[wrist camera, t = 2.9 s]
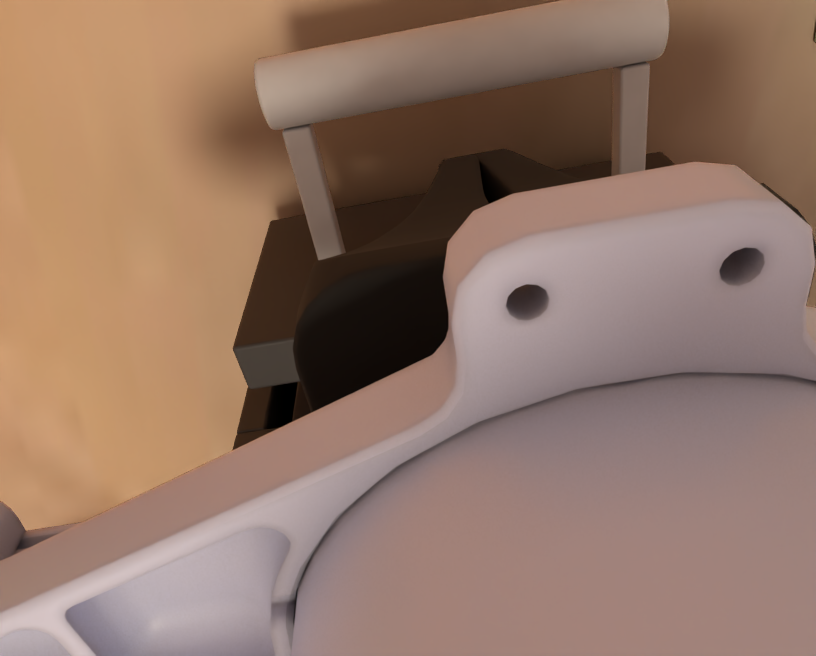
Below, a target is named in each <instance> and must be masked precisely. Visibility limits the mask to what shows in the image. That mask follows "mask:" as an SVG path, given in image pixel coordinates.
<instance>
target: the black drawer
mask: <svg viewBox="0 0 816 656" xmlns="http://www.w3.org/2000/svg"><path fill="white" fill-rule="evenodd" d="M668 34H669V8H668V2H667V0H560V1H555V2H549V3H544V4H539V5H534V6H529V7H523V8H518V9H513V10H508V11H503V12H498V13H492V14H487V15H482V16H477V17H472V18H466V19H461V20H456V21H451V22H446V23H441V24H435V25H430V26H425V27H420V28H415V29H410V30H404V31H399V32H394V33H389V34H384V35H378V36H373V37H368V38H363V39H358V40H353V41H347V42H342V43H337V44H332V45H327V46H321V47H316V48H311V49H306V50H301V51H296V52H290V53H285V54H280V55H275V56H270V57H265V58H259V59H258V60H256V61H255V64H254V80H255V86H256V92H257V96H258V100H259V104H260V107H261V110H262V113H263V115H264V118H265V120H266V122H267V123H268V125H269V126H270V128H271V129H274V130H280V129H284V130H283V133H282V134H283V138H284V141H285V145H286V148H287V152H288V155H289V159H290V162H291V166H292V169H293V173H294V176H295V180H296V184H297V187H298V191H299V194H300V198H301V201H302V205H303V208H304V212H305V215H301V216H296V217H290V218H284V219H279V220H273V221H271V222H270V225H269V228H268V232H267V235H266V238H265V242H264V245H263V248H262V252H261V255H260V259H259V262H258V265H257V269H256V272H255V275H254V279H253V282H252V285H251V289H250V292H249V296H248V299H247V302H246V306H245V309H244V312H243V316H242V319H241V322H240V326H239V329H238V332H237V336H236V339H235V343H234V346H233V351H234V353H235V356H236V358H237V360H238V363H239V365H240V368H241V370H242V373H243V375H244V377H245V380H246V382H247V385H248V387H249V388H250V389H257V388H263V387H269V386H276V385H282V384H288V383H294V382H298V384H297V391H296V397H295V404H294V411H293V418H292V422H293V421H295V420H297V419H299V418H301V417H303V416H306V415H308V414H310V413H311V411H310V408H309V405H308V402H307V399H306V396H305V393H304V390H303V388H302V385H301V382H300V379H299V376H298V373H297V370H296V366H295V360H294V354H293V342H294V335H295V328H296V321H297V314H298V309H299V305H300V301H301V297H302V294H303V291H304V288H305V286H306V283H307V280H308V278H309V276H310V273H311V270H312V268H313V265H314V263H315V261H318V260H322V259H326V258H329V257H333V256H336V255H340V254H343V253H347V252H349V251H352V250H355V249H357V248H359V247H362V246H364V245H366V244H368V243H370V242H372V241H374V240H376V239H378V238H380V237H381V236H383V235H384V234H386V233H387V232H389V231H390V230H392V229H393V228H394V227H396V226H397V225H399V224H400V223H401V222H403V221H404V220H405V219H406V218H407V217H408V216H409V215H410V214H411V213H412V212H413V211H414V210H415V209H416V208H417V206H418V205H419V204H420V202H421V201H422V199H423V198H424V197H425V195H426V193H425V194H420V195H414V196H408V197H403V198H397V199H391V200H386V201H380V202H375V203H369V204H363V205H358V206H352V207H346V208H341V209H334V205H333V201H332V197H331V193H330V189H329V185H328V181H327V177H326V173H325V170H324V166H323V162H322V158H321V154H320V150H319V146H318V142H317V138H316V134H315V130H314V126H313V123H318V122H323V121H329V120H334V119H339V118H345V117H350V116H355V115H361V114H366V113H372V112H377V111H382V110H388V109H393V108H398V107H404V106H409V105H415V104H420V103H425V102H431V101H436V100H441V99H447V98H452V97H458V96H463V95H468V94H474V93H479V92H484V91H490V90H495V89H501V88H506V87H511V86H517V85H522V84H528V83H533V82H538V81H544V80H549V79H554V78H560V77H565V76H571V75H576V74H581V73H587V72H592V71H597V70H603V69H608V68H613V96H612V160H611V161H606V162H600V163H594V164H589V165H583V166H577V167H572V168H566V169H560V170H557V171H560V172H562V173H566V174H569V175H572V176H575V177H578V178H581V179H585V180H593V179H599V178H605V177H610V176H616V175H622V174H627V173H633V172H639V171H644V170H650V169H656V168H661V167H667V166H672V165H675V164H674V163H673V162H672V161H671V160H670V159H669V158H668V157H667V156H666V155H665V154H663V153H662V152H656V153H651V154H646V141H647V119H648V97H649V75H650V65H649V64H648V63H647V62H646V61H651V60H656V59H657V58H659V57H660V56H661V55H662V54H663V52H664V50H665V48H666V44H667V40H668Z"/></svg>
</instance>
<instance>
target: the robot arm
mask: <svg viewBox="0 0 816 656" xmlns="http://www.w3.org/2000/svg"><path fill="white" fill-rule="evenodd" d="M815 259H816V244H815V240H814V237H813V233H812V227H811V226H810V225H809V224H808V223H807V221H806V220H805V219H804V218H803V216H802V215H801V214H800V212H799V211H798V210H797V209H796V208H794V207H793V206H792V205H791V204H789V203H788V202H787V201H785V200H784V199H783V198H782V197H780V196H779V195H778V194H777V193H775V192H774V191H773V190H771V189H770V188H769V187H768V186H766V185H765V184H764V183H761V184H759V183H758V182H757V181H755V180H754V179H753V178H751V177H750V176H749V175H748V174H746V173H745V172H744V171H743V170H741V169H740V168H739V167H738V166H736V165H732V164H719V163H706V162H689V163H684V164H678V165H672V166H667V167H661V168H656V169H650V170H644V171H639V172H633V173H627V174H622V175H616V176H610V177H605V178H599V179H593V180H585V179H581V178H578V177H575V176H572V175H569V174H566V173H562V172H560V171H557V170H554V169H552V168H549V167H547V166H544V165H542V164H540V163H537V162H535V161H533V160H531V159H528V158H526V157H524V156H522V155H520V154H517V153H515V152H513V151H510V150H507V149H500V150H494V151H489V152H483V153H477V154H472V155H466V156H461V157H455V158H450V159H444V160H443V161H442V162H441V164H440V165H439V169H438V172H437V174H436V177H435V179H434V181H433V183H432V185H431V186H430V188H429V190H428V192H427V193H426V195H425V197H424V198H423V199H422V201H421V202H420V204H419V205H418V206H417V208H416V209H415V210H414V211H413V212H412V213H411V214H410V215H409V216H408V217H407V218H406V219H405V220H404V221H403V222H401V223H400V224H399V225H397V226H396V227H394V228H393V229H392V230H390V231H389V232H387V233H386V234H384V235H383V236H381V237H380V238H378V239H376V240H374V241H372V242H370V243H368V244H366V245H364V246H362V247H359V248H357V249H355V250H352V251H349V252H347V253H343V254H340V255H336V256H333V257H329V258H326V259H322V260H318V261H315V263H314V265H313V268H312V270H311V273H310V276H309V278H308V280H307V283H306V286H305V288H304V291H303V294H302V297H301V301H300V305H299V309H298V314H297V321H296V328H295V335H294V342H293V354H294V360H295V366H296V370H297V373H298V376H299V379H300V382H301V385H302V388H303V390H304V393H305V396H306V399H307V402H308V405H309V408H310V411H311V413H310V414H308V415H306V416H303V417H301V418H299V419H297V420H295V421H293V422H291V423H289V424H287V425H285V426H283V427H280V428H278V429H276V430H274V431H272V432H270V433H268V434H266V435H264V436H262V437H260V438H257V439H255V440H253V441H251V442H249V443H247V444H245V445H243V446H241V447H239V448H237V449H234V450H232V451H230V452H228V453H226V454H224V455H222V456H220V457H218V458H216V459H214V460H212V461H209V462H207V463H205V464H203V465H201V466H199V467H197V468H195V469H193V470H191V471H189V472H186V473H184V474H182V475H180V476H178V477H176V478H174V479H172V480H170V481H168V482H166V483H163V484H161V485H159V486H157V487H155V488H153V489H151V490H149V491H147V492H145V493H143V494H140V495H138V496H136V497H134V498H132V499H130V500H128V501H126V502H124V503H122V504H120V505H117V506H115V507H113V508H111V509H109V510H107V511H105V512H103V513H101V514H99V515H96V516H94V517H92V518H90V519H88V520H86V521H84V522H80V523H74V524H67V525H61V526H54V527H48V528H41V529H35V530H28V531H26V530H25V529H24V527H23V525H22V524H21V522H20V520H19V518H18V517H17V516H16V515H15V513H14V512H13V511H12V510H11V508H9V507H8V506H7V505H5V504H4V503H3V502H1V501H0V656H816V307H810V306H807V301H808V297H809V293H810V288H811V284H812V279H813V275H814V270H815Z"/></svg>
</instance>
